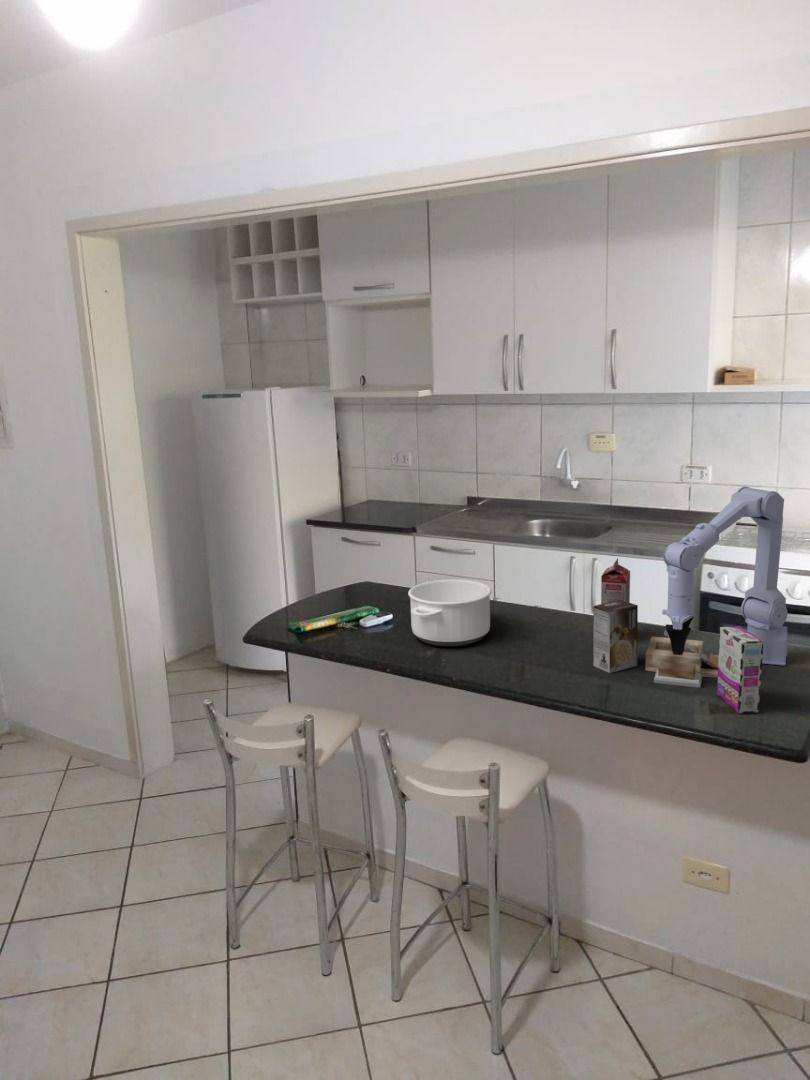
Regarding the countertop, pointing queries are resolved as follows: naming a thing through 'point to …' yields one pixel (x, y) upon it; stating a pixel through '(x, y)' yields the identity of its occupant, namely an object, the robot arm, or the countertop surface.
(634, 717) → the countertop surface
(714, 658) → the lever
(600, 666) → the coffee box
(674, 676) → the walnut block
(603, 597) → the juice carton
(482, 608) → the pot
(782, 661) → the robot arm
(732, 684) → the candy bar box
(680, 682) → the grey pad
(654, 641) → the pocket board
